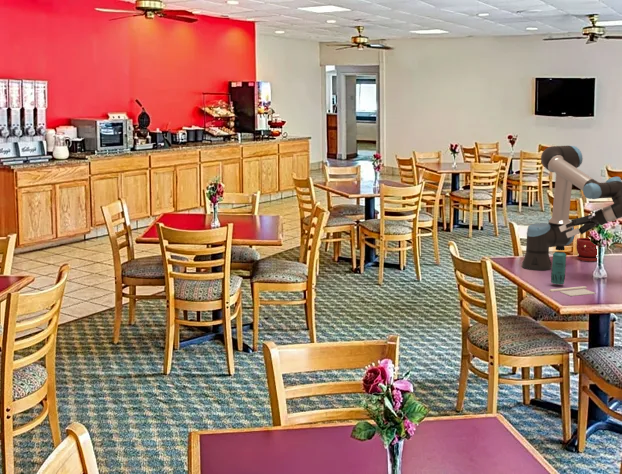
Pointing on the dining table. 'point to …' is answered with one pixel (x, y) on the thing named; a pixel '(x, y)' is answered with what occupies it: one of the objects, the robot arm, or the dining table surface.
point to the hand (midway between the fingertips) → (563, 232)
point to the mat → (577, 292)
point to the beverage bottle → (558, 266)
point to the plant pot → (586, 250)
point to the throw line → (567, 288)
